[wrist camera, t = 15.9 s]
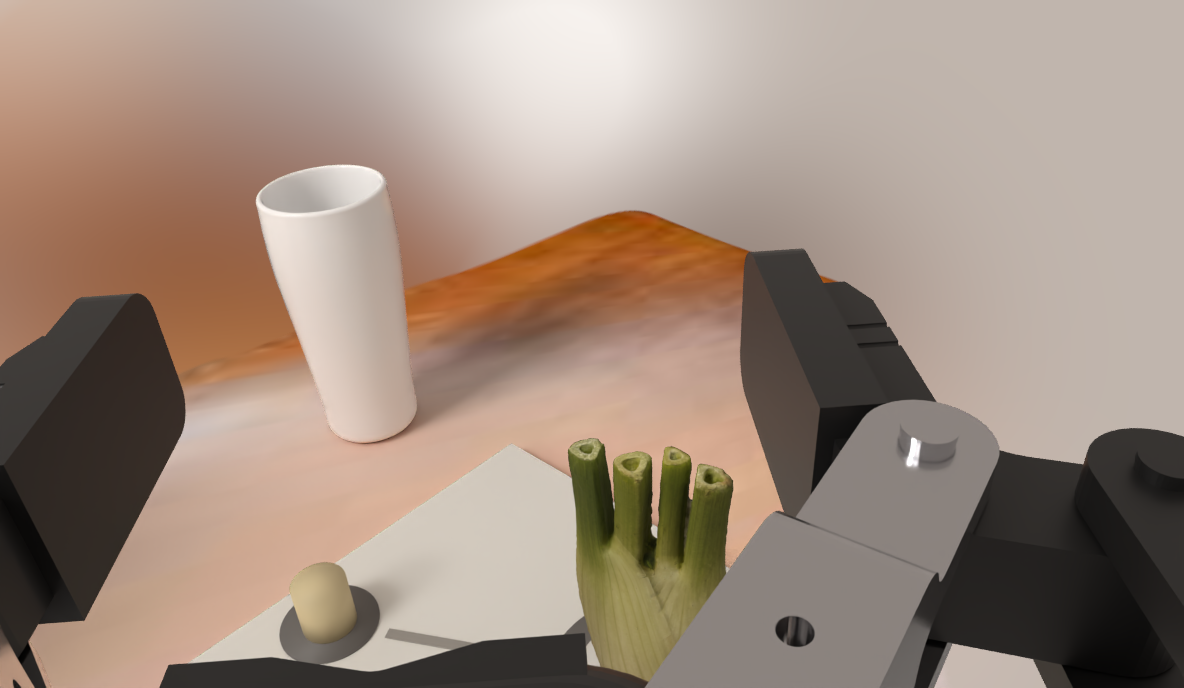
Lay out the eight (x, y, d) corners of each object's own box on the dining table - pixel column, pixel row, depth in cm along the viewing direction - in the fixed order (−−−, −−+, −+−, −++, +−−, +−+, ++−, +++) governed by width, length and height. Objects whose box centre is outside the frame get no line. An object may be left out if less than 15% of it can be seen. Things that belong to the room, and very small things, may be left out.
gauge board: (177, 685, 39) (153, 632, 38) (512, 454, 52) (506, 406, 50) (498, 1061, 27) (484, 1010, 26) (838, 644, 39) (845, 589, 38)
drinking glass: (367, 377, 59) (317, 156, 51) (453, 403, 56) (414, 173, 48) (292, 437, 54) (224, 202, 46) (381, 468, 51) (325, 224, 43)
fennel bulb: (569, 670, 38) (546, 444, 32) (655, 607, 40) (651, 387, 34) (666, 767, 34) (663, 532, 28) (755, 691, 37) (771, 460, 30)
